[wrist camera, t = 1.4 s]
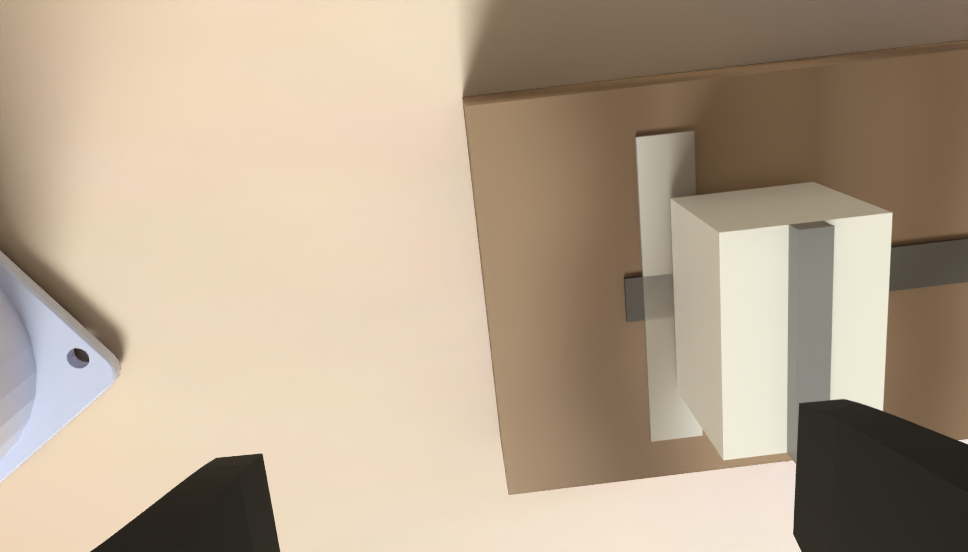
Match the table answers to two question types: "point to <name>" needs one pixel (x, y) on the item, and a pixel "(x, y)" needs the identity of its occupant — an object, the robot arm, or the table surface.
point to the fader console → (648, 241)
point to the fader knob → (777, 309)
